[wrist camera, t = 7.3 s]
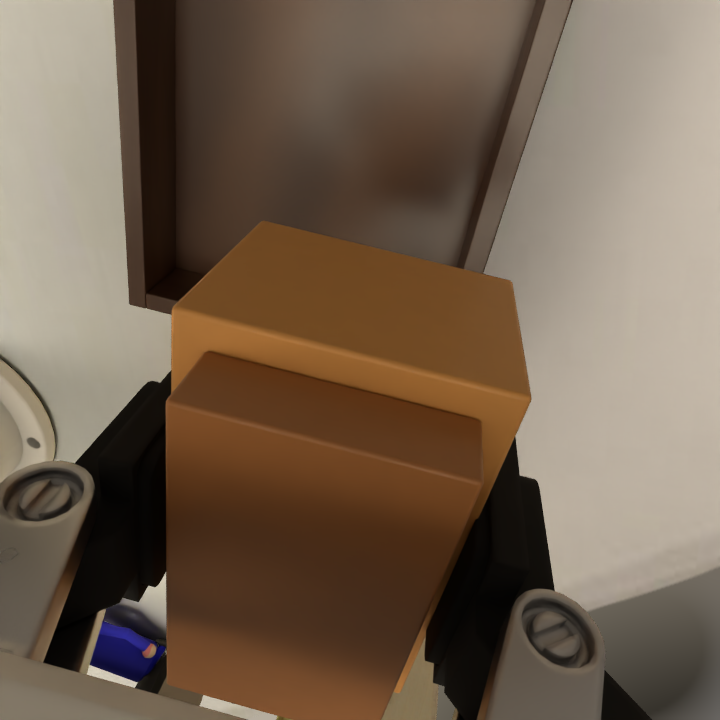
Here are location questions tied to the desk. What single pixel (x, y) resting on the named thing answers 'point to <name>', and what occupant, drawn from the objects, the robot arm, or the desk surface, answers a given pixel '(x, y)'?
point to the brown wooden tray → (322, 125)
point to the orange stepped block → (327, 465)
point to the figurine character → (137, 661)
